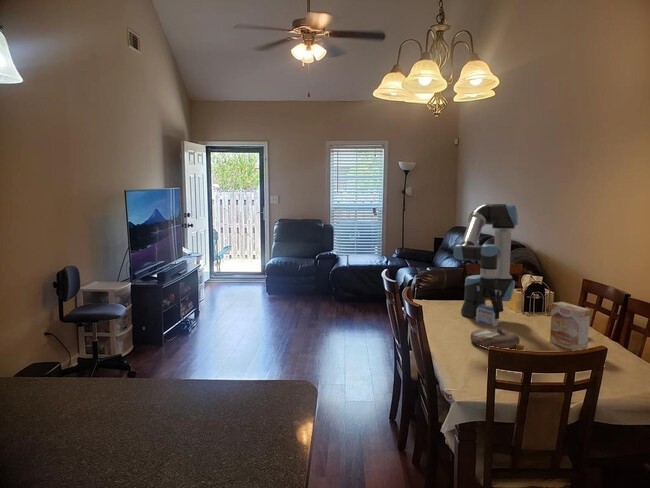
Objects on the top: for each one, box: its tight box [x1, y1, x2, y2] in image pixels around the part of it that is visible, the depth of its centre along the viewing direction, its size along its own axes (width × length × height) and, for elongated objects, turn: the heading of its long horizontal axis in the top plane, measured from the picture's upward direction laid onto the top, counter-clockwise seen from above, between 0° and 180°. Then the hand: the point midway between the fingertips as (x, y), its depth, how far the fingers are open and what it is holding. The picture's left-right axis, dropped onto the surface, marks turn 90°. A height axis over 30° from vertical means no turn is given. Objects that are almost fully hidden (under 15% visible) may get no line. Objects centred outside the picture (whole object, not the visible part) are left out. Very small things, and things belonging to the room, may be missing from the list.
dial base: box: [487, 343, 525, 351], centre depth 215 cm, size 24×19×3 cm
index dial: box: [470, 320, 521, 349], centre depth 216 cm, size 22×22×7 cm
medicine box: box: [476, 304, 495, 327], centre depth 217 cm, size 8×4×9 cm, turn 47°
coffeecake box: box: [549, 301, 591, 351], centre depth 211 cm, size 15×7×20 cm, turn 23°
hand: (486, 322), depth 218 cm, fingers closed on medicine box, 8 cm apart
